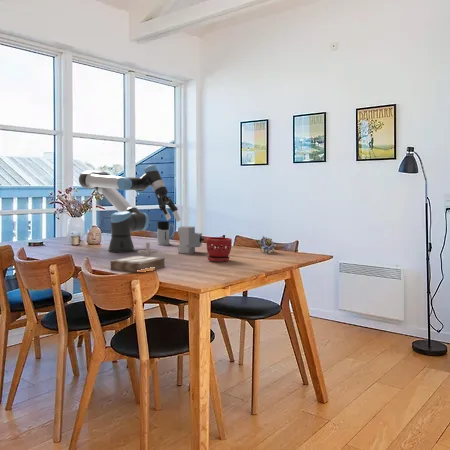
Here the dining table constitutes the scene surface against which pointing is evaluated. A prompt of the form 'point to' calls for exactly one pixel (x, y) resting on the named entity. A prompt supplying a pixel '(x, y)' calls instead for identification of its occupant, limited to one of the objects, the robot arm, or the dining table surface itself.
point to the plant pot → (218, 249)
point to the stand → (136, 263)
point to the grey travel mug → (163, 233)
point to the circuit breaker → (189, 239)
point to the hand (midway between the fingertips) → (174, 220)
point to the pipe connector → (147, 250)
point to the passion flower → (266, 244)
